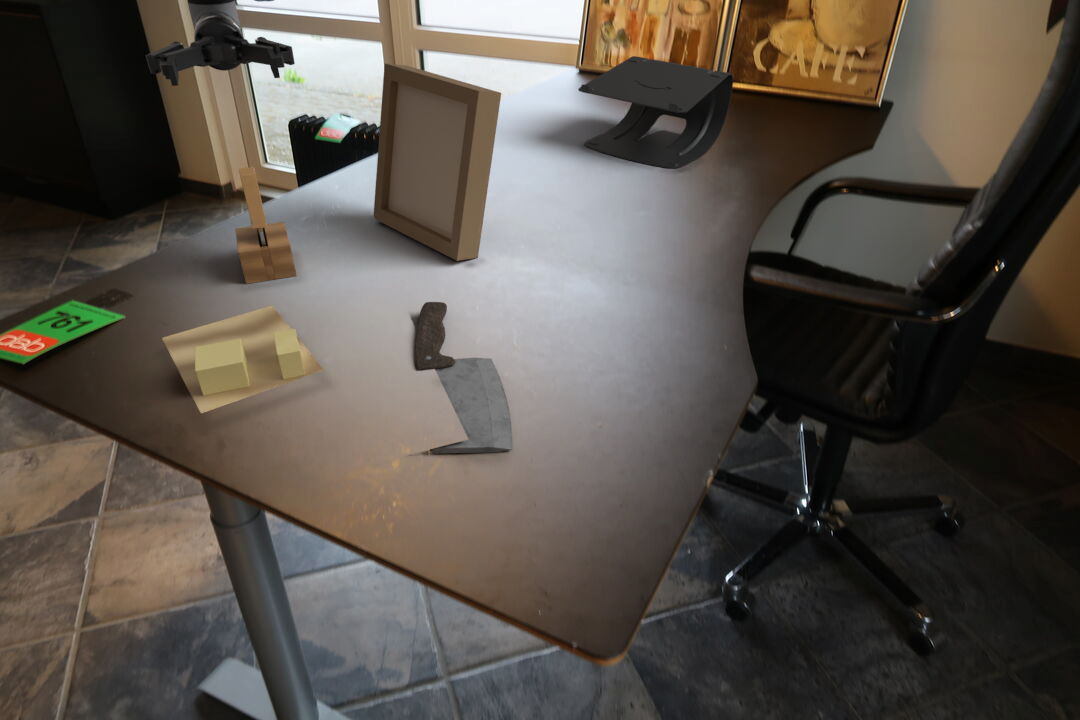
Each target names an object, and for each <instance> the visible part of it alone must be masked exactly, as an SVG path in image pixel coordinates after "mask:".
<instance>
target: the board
mask: <svg viewBox="0 0 1080 720" xmlns="http://www.w3.org/2000/svg"><path fill="white" fill-rule="evenodd" d="M290 329H292V328H291V327H290V325H289V324H288V323H287V322H286V320H285V319H284V318H283V317H282V315H281V314H280V313H279V312H278V311H277V309H276V308H275V307H274V305H269V306H266V307H262V308H259V309H256V310H252V311H248V312H245V313H241V314H238V315H234V316H231V317H228V318H224V319H222V320H218V321H214V322H211V323H208V324H205V325H201V326H197V327H194V328H190V329H187V330H184V331H180V332H177V333H173V334H171V335H167V336H164V337H161V340H162V342H163V344H164V346H165V348H166V350H167V351H168V354H169V355H170V358H171V360H172V361H173V363H174V365H175V367H176V369H177V371H178V373H179V374H180V376H181V379H182V380H183V381H182V382H184V384H185V387H186V388H187V391H188V392H189V394H190V396H191V398H192V400H193V402H194V404H195V405H196V407H197V409H198V411H199V413H200V414H203V413H206V412H209V411H212V410H215V409H218V408H221V407H223V406H226V405H229V404H232V403H235V402H238V401H240V400H243V399H246V398H250V397H252V396H255V395H257V394H261V393H263V392H266V391H269V390H272V389H275V388H278V387H280V386H283V385H286V384H288V383H292V382H294V381H297V380H301V379H303V378H305V377H309V376H311V375H314V374H317V373H319V372H323V371H324V368H323V367H322V366H321V364H320V363H319V362H318V360H317V359H316V358H315V357H314V356H313V354H312V353H311V352H310V351H309V349H308V348H307V346H306V345H305V344H304V343H303V342H302V341H301V339H300V338H299V337H298V336H297V339H298V344H299V348H300V353H301V357H302V362H303V366H304V371H305V375H303V376H298V377H293V378H288V379H283V377H282V373H281V369H280V365H279V361H278V356H277V351H276V346H275V340H274V334H273V333H274V332H279V331H284V330H290ZM236 339H241V342H242V346H243V349H244V353H245V356H246V360H247V365H248V374H249V383H250V386H249V387H244V388H240V389H235V390H230V391H225V392H220V393H215V394H210V395H206V396H203V393H202V390H201V387H200V384H199V381H198V378H197V375H196V372H195V347H198V346H203V345H209V344H214V343H220V342H225V341H230V340H236Z"/></svg>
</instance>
